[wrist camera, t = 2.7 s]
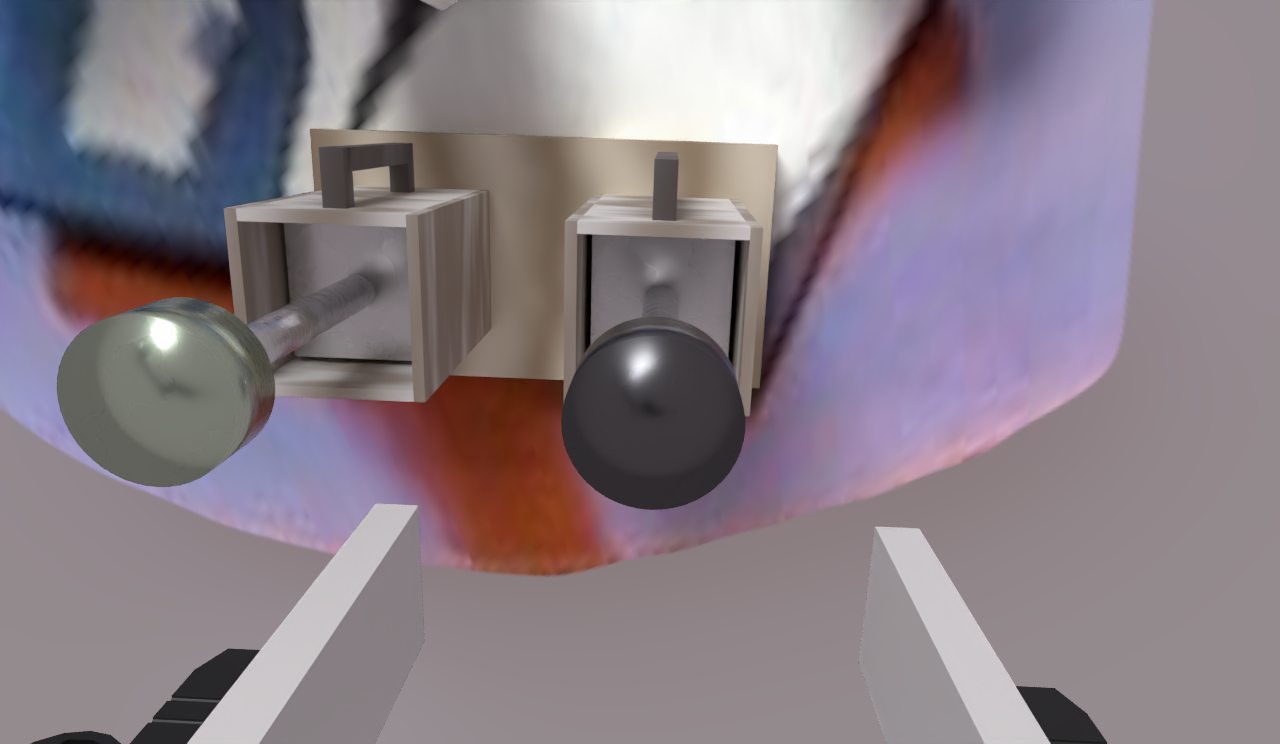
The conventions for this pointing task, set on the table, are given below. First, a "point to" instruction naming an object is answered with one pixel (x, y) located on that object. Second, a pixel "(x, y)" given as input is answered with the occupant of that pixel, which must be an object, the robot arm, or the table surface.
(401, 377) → the stand
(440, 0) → the jar
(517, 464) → the table surface
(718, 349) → the plunger
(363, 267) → the plunger
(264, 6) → the table surface
